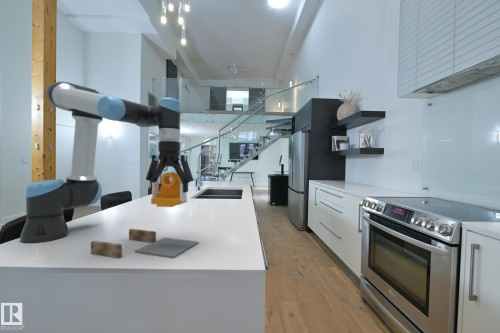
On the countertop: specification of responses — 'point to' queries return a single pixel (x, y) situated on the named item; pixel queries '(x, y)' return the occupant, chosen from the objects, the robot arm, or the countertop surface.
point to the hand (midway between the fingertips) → (169, 200)
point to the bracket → (169, 191)
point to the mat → (167, 247)
